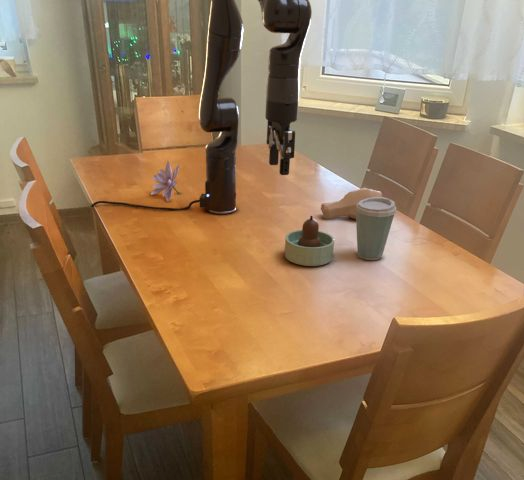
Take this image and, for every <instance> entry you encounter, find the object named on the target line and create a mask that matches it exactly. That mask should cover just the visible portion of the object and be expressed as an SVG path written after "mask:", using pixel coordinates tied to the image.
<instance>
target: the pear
mask: <svg viewBox="0 0 524 480" xmlns="http://www.w3.org/2000/svg"><path fill="white" fill-rule="evenodd" d="M313 217H314V216H313V215H310V216H309V218H308V219H306V220H305V221H304V222H303V224H302V228H301V230H302V236H301V237H300V239H299V241H298V245H299V246H304V247H320V246H321V243H320V239H319V237H318V231H320V230H319V227H320V226H319V223H318V221H317V220H315V219H314V218H313Z"/></svg>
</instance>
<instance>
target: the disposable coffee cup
mask: <svg viewBox="0 0 524 480" xmlns="http://www.w3.org/2000/svg"><path fill="white" fill-rule="evenodd" d="M355 210H356V219H355V221H356V222H355V223H356V249H357V250H356V251H357V252H356V253H357V254H358V258H360V259H363V260H367V261H377V260H380V259H381V258H382V256H383V254H384V251H385V247H386V245H387V241H388V237H389V235H390V231H391V229H392V228H391V227H392V224H393V220H394V218H395V215H396V214H397V206H396V202H395V201H394V200H393V199H390V198H387V197H383V196H382V197H373V198H366V199H363V200H361V201H359V203H358V204H357V205H356V209H355Z"/></svg>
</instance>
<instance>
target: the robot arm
mask: <svg viewBox="0 0 524 480" xmlns="http://www.w3.org/2000/svg"><path fill="white" fill-rule="evenodd" d="M257 1H258V3H259V6H260V12H261V21H262V25H263V27H264V28H265V29H266V30H267V31H268V32H270V33H273V34H288V37H287V39H286V41H285V42H284V43H282V44H278V45H275V46H274V45H273V46H272V47H271V48H270V49H269V52H268V63H267V66H268V67H267V82H266V91H265V120H266V121H267V128H266V142H265V143H266V144H267V146H268V149H269V155H268V164H269V165H270V166H278V165H279V170H278V171H279V175H280V176H288V175H289V174H290V165H291V164H290V163H291V160H292V159H294V158H295V147H296V145H295V144H296V130H291V123H294V122H295V123H296V121H297V120H298V116H299V103H300V102H299V101H300V100H299V99H300V71H301V56H302V53H303V49H304V45H305V42H306V38H307V35H308V32H309V29H310V26H311V22H312V13H313V11H312V5H311V3H310V0H257ZM244 27H245V26H244V21H243V18H242V15H241V12H240V10H239V8H238V5H237V3H236V0H211V1H210V10H209V19H208V27H207V39H206V55H205V68H204V77H203V83H202V89H201V94H200V101H199V107H198V122H199V126H200V128H201V130H202V131H203V132H204V133H211V134H212V133H219V134H218V136H217V137H216V138H215V139H214V140H212V141H210V142H208V143H207V144H206V146H205V173H206V175H205V176H206V177H205V178H206V180H205V182H204V191H205V192H204V193H201V194H200V196H199V199H195V200H192V201H191V202H189V204H188V206H185V207H179V208H174V207H163V206H162V207H161V206H150V205H142V204H133V203H128V202H121V201H108V200H98V201H95V202H93V203H91V205H90V207H91V208H93V207H95V206H96V205H99V204H108V205H118V206H119V205H122V206H126V207H127V206H128V207H133V208H142V209H148V210H162V211H185V210H190V208H191V207H192V205H193V204H196V203H199V208H201V209H202V208H204V209H205V212H207V213H210V214H215V215H228V214H232V213H235V212H236V211H237V181H236V180H237V148H238V143H239V142H238V141H239V139H238V138H239V124H240V123H239V121H240V119H239V118H240V115H239V114H240V113H239V112H240V111H239V107H238V104H237V101H236V100H235V99H234V98H233V97H230V96H228V97H227V96H225V97H219V96H220V91H221V88H222V86H223V83H224V81H225V80H226V78H227V76H228V75H229V74H230V73H231V71H232V69H233V68H234V66H235V65H236V63H237V61H238V59H239V58H240V55H241V53H242V46H243V37H244ZM279 158H280V159H279Z"/></svg>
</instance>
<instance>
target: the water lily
mask: <svg viewBox="0 0 524 480" xmlns="http://www.w3.org/2000/svg"><path fill="white" fill-rule="evenodd" d="M179 171H180V164H178V165H177V166H176V167H175V169H174V170H173V171H172V166H171V163H170V162H169V160H167V161H166V163H165V169H163V168H161V169H159V172H158V173H156V174H154V175H152V179H153V181H155V182H156V183H158V184H154V185H152V188H153V191H152V192H151V193H150V196H153V195H157V194H160V193H162V197H165V200H166V202H169V201H170V200H171V198H172V195H173V190H174V191H175V192H176V193H177V194H178V195H179V194H180V191H179V190H178V189H177V188H176V186H177V185H178V183H177V180H175V179H176V178H177V176H178V173H179Z"/></svg>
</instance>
